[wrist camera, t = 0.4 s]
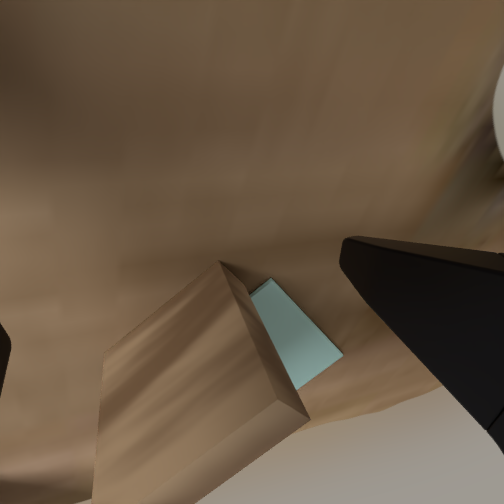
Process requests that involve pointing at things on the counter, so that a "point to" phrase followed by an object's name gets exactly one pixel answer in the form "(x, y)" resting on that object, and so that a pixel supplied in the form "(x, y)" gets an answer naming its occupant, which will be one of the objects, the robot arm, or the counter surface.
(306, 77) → the counter surface
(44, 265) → the counter surface
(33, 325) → the counter surface
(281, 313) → the mat
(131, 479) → the walnut block
